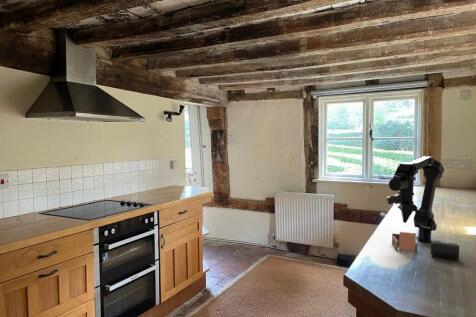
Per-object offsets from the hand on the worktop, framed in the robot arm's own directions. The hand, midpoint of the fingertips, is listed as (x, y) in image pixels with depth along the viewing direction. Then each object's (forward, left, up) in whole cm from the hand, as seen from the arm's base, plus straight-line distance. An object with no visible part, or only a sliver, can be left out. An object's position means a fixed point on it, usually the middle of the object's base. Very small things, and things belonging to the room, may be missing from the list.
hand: (404, 222), depth 155 cm
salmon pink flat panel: (+8, 0, -11) cm, 14 cm away
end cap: (+11, +14, -12) cm, 21 cm away
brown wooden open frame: (+2, 0, -12) cm, 12 cm away
